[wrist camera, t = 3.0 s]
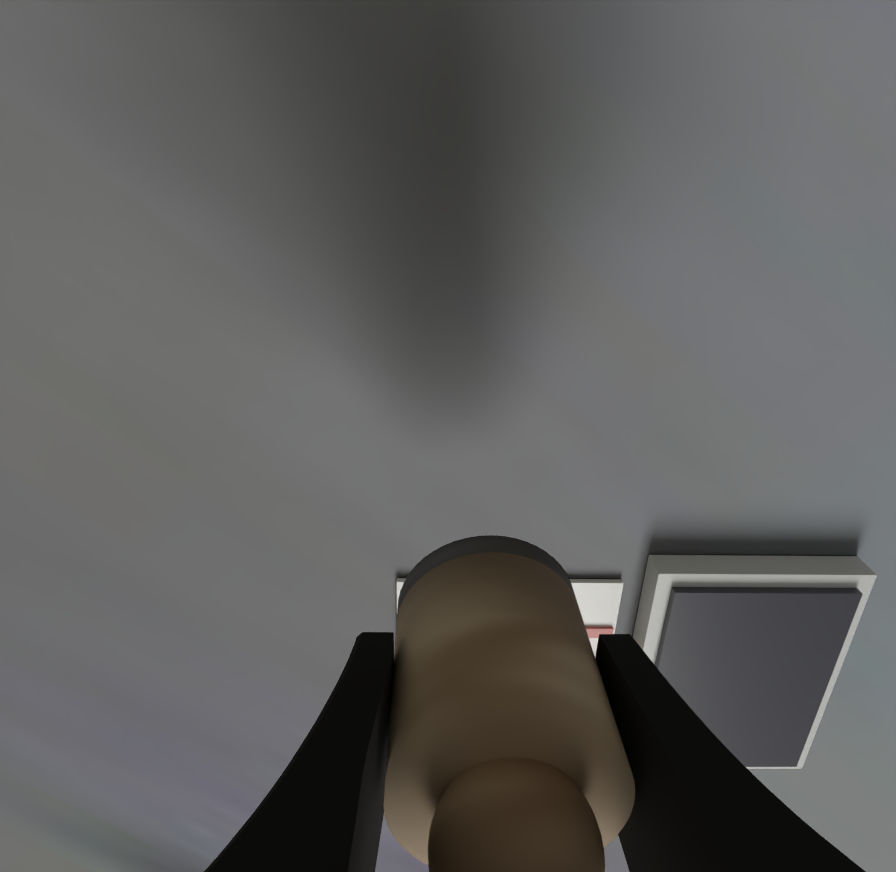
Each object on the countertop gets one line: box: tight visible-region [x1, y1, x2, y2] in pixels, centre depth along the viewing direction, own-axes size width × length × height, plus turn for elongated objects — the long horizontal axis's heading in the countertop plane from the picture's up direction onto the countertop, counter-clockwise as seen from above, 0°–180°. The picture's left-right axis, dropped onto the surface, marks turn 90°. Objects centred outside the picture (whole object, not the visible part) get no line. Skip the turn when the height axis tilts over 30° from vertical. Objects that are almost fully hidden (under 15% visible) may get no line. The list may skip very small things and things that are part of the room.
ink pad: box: [633, 555, 877, 769], centre depth 22 cm, size 7×9×1 cm
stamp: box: [384, 536, 635, 872], centre depth 11 cm, size 4×4×7 cm
